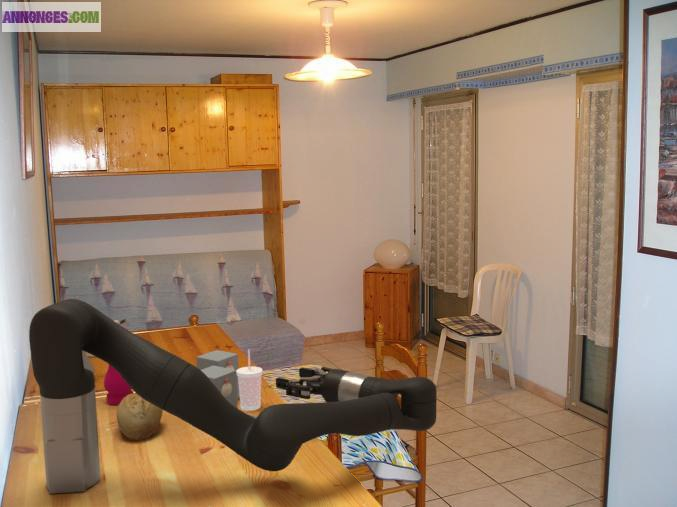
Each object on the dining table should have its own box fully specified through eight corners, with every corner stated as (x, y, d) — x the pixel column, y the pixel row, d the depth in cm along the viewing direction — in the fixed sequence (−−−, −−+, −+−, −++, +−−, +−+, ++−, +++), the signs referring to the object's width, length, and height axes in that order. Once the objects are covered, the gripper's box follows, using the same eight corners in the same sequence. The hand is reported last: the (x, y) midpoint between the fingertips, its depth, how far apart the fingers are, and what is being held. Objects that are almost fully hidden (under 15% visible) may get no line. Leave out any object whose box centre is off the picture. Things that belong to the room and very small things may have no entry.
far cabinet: (241, 398, 170) (239, 354, 168) (221, 406, 164) (219, 361, 162) (218, 392, 174) (216, 350, 172) (198, 400, 168) (196, 356, 166)
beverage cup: (234, 404, 165) (233, 347, 163) (260, 401, 167) (258, 344, 165) (240, 413, 160) (238, 354, 158) (266, 409, 162) (265, 351, 160)
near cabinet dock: (284, 425, 152) (283, 376, 151) (251, 442, 143) (249, 390, 142) (221, 408, 163) (219, 363, 161) (186, 423, 154) (184, 375, 152)
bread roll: (160, 414, 160) (159, 381, 159) (166, 439, 146) (164, 402, 144) (116, 420, 157) (114, 386, 155) (118, 445, 143) (116, 408, 141)
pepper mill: (126, 406, 165) (122, 324, 162) (98, 404, 166) (94, 323, 163) (141, 396, 172) (137, 317, 169) (114, 394, 173) (109, 316, 170)
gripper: (330, 417, 142) (268, 402, 151) (367, 396, 153) (307, 384, 162) (329, 381, 141) (267, 369, 150) (366, 363, 152) (307, 353, 161)
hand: (288, 377), depth 156 cm, fingers open, 8 cm apart
